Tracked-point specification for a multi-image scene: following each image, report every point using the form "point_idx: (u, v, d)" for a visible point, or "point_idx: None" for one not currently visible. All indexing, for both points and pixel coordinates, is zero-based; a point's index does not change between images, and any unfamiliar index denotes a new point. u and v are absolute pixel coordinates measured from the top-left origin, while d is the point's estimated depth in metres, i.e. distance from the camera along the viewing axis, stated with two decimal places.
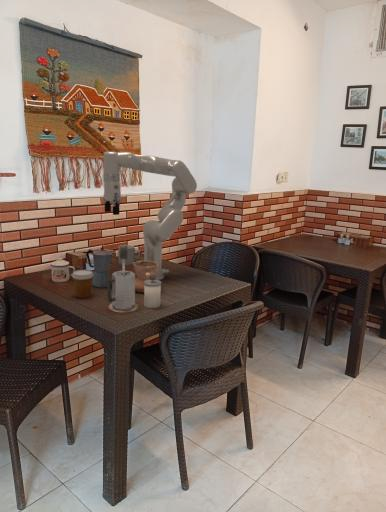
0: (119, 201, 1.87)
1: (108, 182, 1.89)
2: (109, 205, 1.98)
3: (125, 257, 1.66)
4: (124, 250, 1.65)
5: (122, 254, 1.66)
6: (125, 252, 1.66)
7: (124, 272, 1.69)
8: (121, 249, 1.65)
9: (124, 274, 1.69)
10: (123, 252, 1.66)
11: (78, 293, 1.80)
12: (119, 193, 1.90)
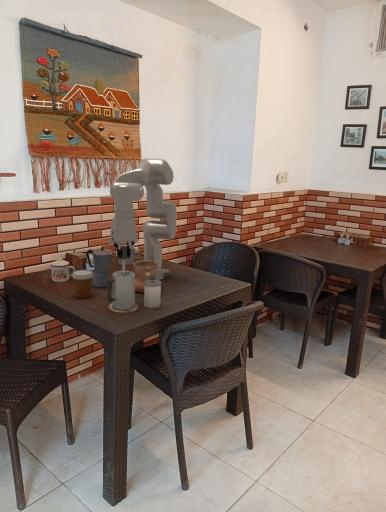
0: (134, 242, 1.69)
1: (129, 220, 1.62)
2: None
3: (125, 257, 1.66)
4: (124, 250, 1.65)
5: (122, 254, 1.66)
6: (125, 252, 1.66)
7: (124, 272, 1.69)
8: (121, 249, 1.65)
9: (124, 274, 1.69)
10: (123, 252, 1.66)
11: (78, 293, 1.80)
12: None
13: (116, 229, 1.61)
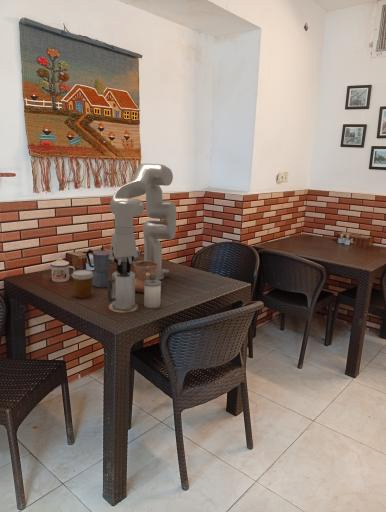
0: (134, 257, 1.71)
1: (129, 235, 1.64)
2: None
3: (125, 272, 1.68)
4: (124, 265, 1.67)
5: (122, 269, 1.67)
6: (125, 267, 1.68)
7: None
8: (121, 264, 1.67)
9: None
10: (123, 267, 1.67)
11: (78, 293, 1.80)
12: None
13: (116, 245, 1.62)
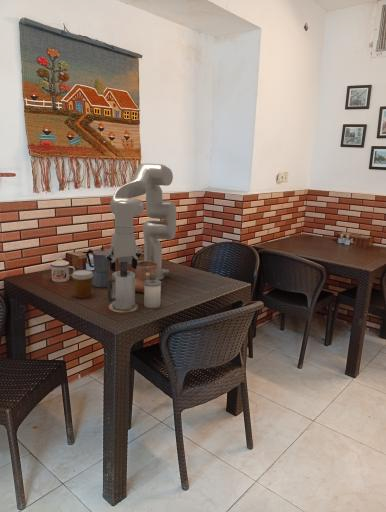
0: None
1: (129, 235, 1.64)
2: None
3: (125, 272, 1.68)
4: (124, 265, 1.67)
5: (122, 269, 1.67)
6: (125, 267, 1.68)
7: None
8: (121, 264, 1.67)
9: None
10: (123, 267, 1.67)
11: (78, 293, 1.80)
12: None
13: (116, 245, 1.62)
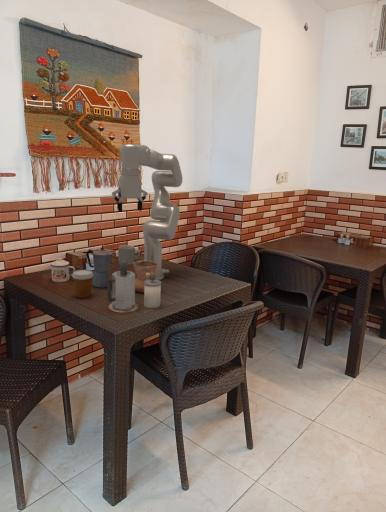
0: (145, 195, 1.84)
1: (135, 177, 1.77)
2: None
3: (125, 272, 1.68)
4: (124, 265, 1.67)
5: (122, 269, 1.67)
6: (125, 267, 1.68)
7: None
8: (121, 264, 1.67)
9: None
10: (123, 267, 1.67)
11: (78, 293, 1.80)
12: None
13: (123, 186, 1.75)
